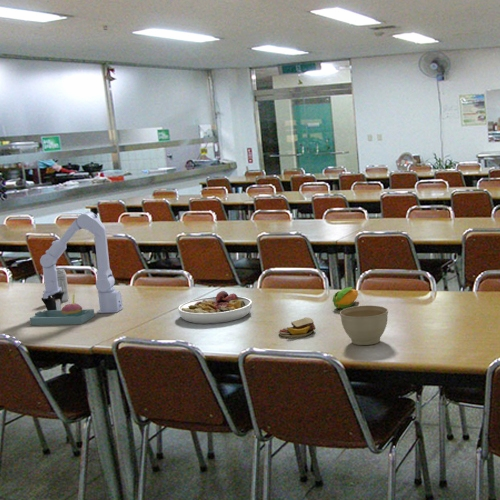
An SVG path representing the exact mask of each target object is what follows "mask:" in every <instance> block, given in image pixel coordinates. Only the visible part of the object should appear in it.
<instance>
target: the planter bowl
mask: <svg viewBox="0 0 500 500" xmlns="http://www.w3.org/2000/svg"><path fill="white" fill-rule="evenodd" d="M388 313H389V310H388V308H387V307H385V306H380V305H356V306H350V307H348V308H345V309H341V310H340V312H339V315H340V320H341V325H342V328H343V329H344V331H345V333H346V335H347V337H348V338H349V339H350V340H351V343H352V344H354V345H357V346H370V345H375V344H377V343H379V342H380V341H381V337H382V336H383V334H384V332H385V331H386V328H387V324H388Z"/></svg>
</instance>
